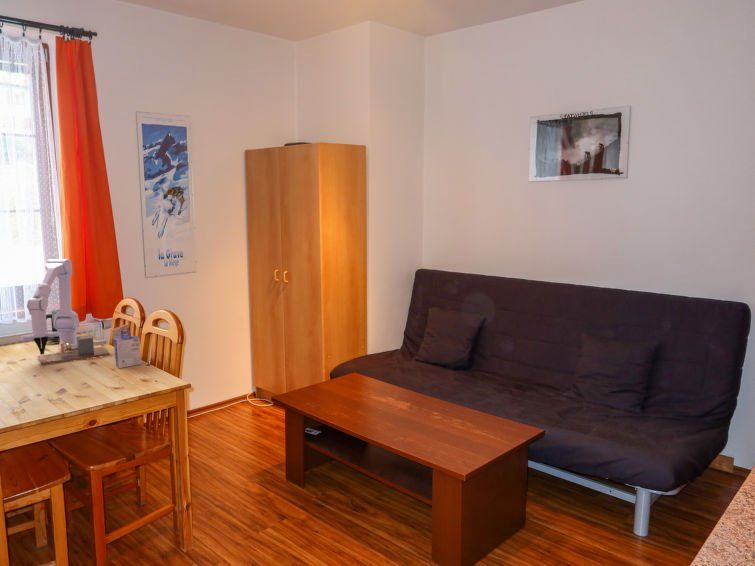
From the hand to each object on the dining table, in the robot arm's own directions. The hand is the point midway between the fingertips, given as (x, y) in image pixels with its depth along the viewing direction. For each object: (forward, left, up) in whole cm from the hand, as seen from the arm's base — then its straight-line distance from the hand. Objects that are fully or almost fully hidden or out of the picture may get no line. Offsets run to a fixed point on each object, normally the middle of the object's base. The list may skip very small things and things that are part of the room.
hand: (42, 354), depth 268 cm
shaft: (0, +17, -1) cm, 17 cm away
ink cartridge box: (+29, +31, -4) cm, 42 cm away
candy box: (+19, +31, -4) cm, 36 cm away
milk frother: (-40, +11, -4) cm, 41 cm away
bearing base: (0, +13, -3) cm, 13 cm away
